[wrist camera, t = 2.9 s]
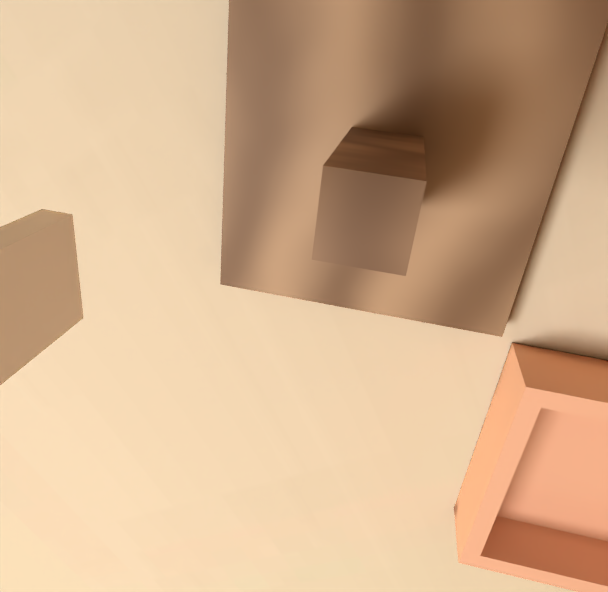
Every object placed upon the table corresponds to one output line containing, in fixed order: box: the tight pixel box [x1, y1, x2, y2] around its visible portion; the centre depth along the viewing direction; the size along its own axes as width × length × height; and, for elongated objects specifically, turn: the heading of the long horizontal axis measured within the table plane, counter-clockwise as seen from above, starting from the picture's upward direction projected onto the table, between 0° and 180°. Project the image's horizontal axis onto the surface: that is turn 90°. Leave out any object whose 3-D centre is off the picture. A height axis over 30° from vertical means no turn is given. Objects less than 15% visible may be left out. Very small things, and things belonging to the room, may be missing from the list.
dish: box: [454, 343, 608, 592], centre depth 28 cm, size 13×13×4 cm
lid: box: [221, 0, 608, 337], centre depth 20 cm, size 15×15×9 cm
